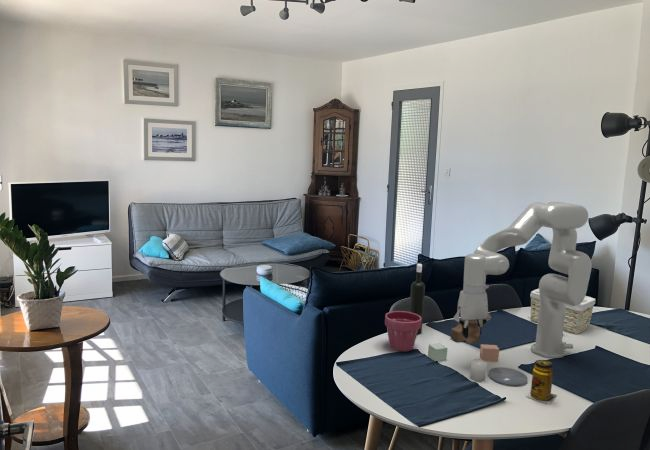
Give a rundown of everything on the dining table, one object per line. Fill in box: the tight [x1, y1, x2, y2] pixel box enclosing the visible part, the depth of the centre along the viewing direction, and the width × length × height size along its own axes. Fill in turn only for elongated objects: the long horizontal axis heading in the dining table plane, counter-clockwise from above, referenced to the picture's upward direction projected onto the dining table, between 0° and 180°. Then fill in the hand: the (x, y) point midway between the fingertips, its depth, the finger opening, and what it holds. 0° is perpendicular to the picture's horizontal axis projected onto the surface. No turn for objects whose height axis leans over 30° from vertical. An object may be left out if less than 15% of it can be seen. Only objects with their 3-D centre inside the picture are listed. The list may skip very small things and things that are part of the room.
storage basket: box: [529, 288, 596, 335], centre depth 241 cm, size 24×16×15 cm
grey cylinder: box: [469, 358, 487, 383], centre depth 183 cm, size 5×5×6 cm
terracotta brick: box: [479, 343, 500, 362], centre depth 200 cm, size 6×4×5 cm, turn 87°
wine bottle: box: [408, 263, 426, 335], centre depth 223 cm, size 6×6×30 cm
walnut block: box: [464, 322, 481, 344], centre depth 191 cm, size 4×4×6 cm
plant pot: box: [384, 310, 421, 352], centre depth 208 cm, size 14×14×13 cm
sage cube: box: [427, 342, 448, 362], centre depth 199 cm, size 5×5×5 cm
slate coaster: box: [487, 366, 528, 387], centre depth 185 cm, size 13×13×1 cm
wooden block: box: [450, 316, 476, 343], centre depth 219 cm, size 9×4×18 cm, turn 118°
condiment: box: [525, 359, 558, 405], centre depth 172 cm, size 7×8×12 cm
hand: (471, 336), depth 192 cm, fingers closed on walnut block, 3 cm apart
